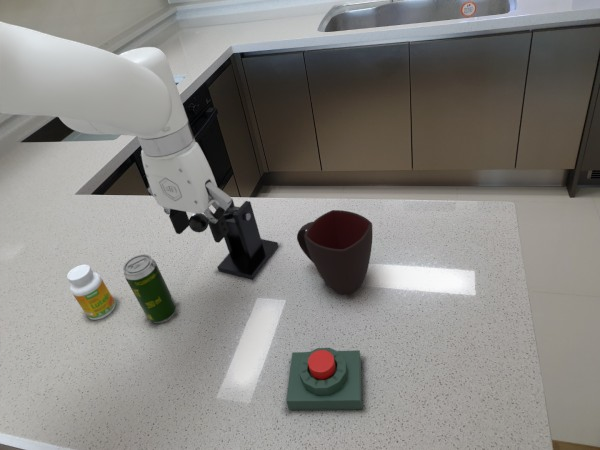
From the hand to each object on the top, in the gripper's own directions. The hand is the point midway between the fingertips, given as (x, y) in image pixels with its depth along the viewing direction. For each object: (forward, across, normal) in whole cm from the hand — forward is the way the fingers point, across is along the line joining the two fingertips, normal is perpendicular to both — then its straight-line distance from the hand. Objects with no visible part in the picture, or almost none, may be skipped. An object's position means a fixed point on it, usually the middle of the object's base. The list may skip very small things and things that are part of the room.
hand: (202, 232), depth 77 cm
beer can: (+14, -8, -9) cm, 18 cm away
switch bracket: (+14, 0, +9) cm, 16 cm away
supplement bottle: (+14, -20, -12) cm, 27 cm away
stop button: (+10, +26, -11) cm, 30 cm away
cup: (+14, +19, +9) cm, 25 cm away
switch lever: (+2, 0, +4) cm, 4 cm away
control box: (+14, +26, -11) cm, 31 cm away
